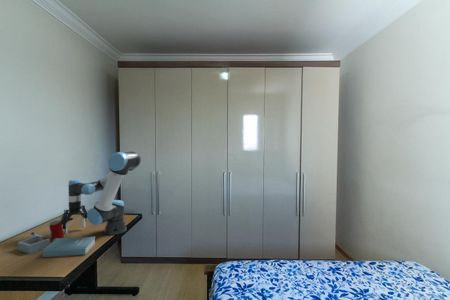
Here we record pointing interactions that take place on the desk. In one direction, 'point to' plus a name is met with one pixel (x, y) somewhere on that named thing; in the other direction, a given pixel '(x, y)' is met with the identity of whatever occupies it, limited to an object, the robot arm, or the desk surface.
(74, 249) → the book
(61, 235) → the beverage can
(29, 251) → the tray
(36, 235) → the gate bar
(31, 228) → the desk surface
